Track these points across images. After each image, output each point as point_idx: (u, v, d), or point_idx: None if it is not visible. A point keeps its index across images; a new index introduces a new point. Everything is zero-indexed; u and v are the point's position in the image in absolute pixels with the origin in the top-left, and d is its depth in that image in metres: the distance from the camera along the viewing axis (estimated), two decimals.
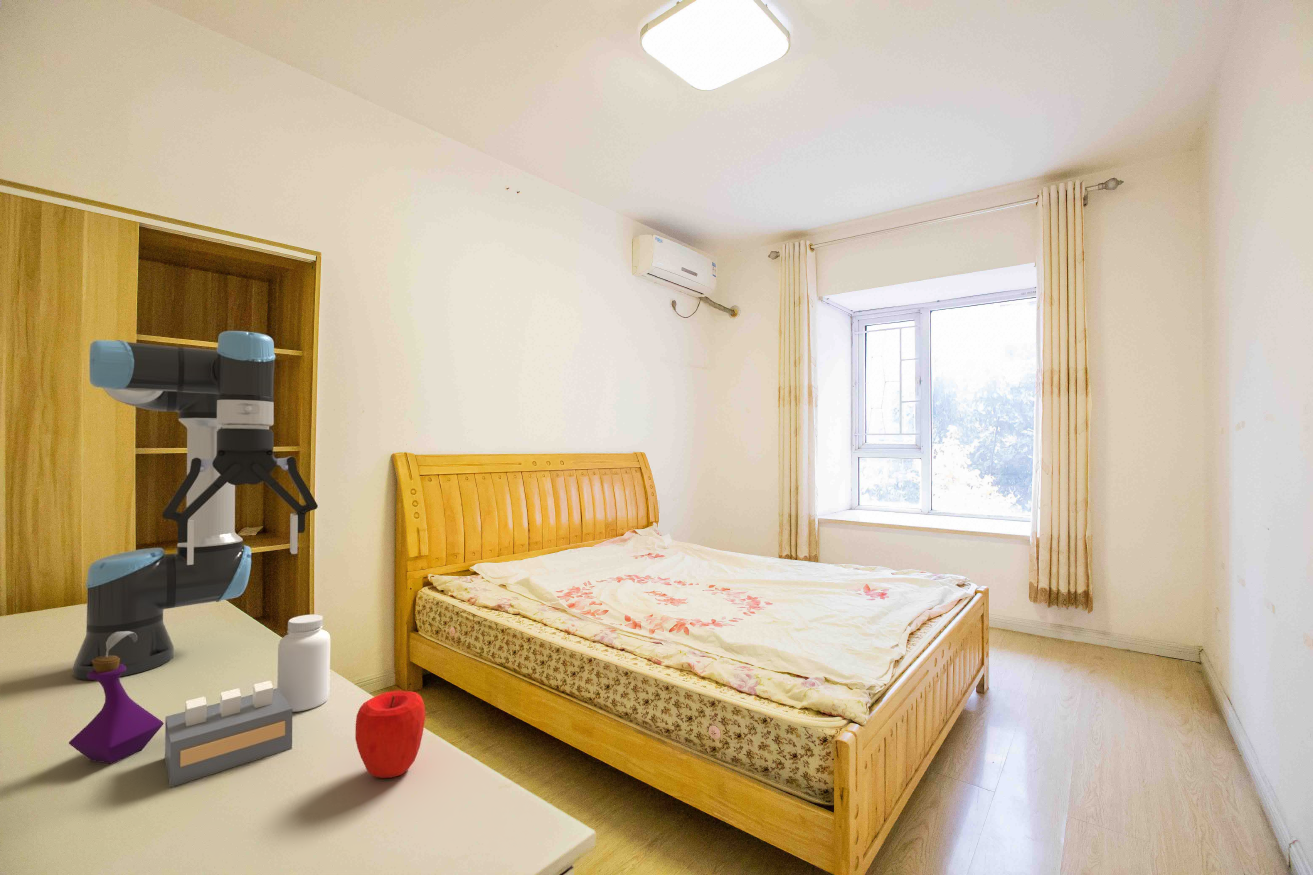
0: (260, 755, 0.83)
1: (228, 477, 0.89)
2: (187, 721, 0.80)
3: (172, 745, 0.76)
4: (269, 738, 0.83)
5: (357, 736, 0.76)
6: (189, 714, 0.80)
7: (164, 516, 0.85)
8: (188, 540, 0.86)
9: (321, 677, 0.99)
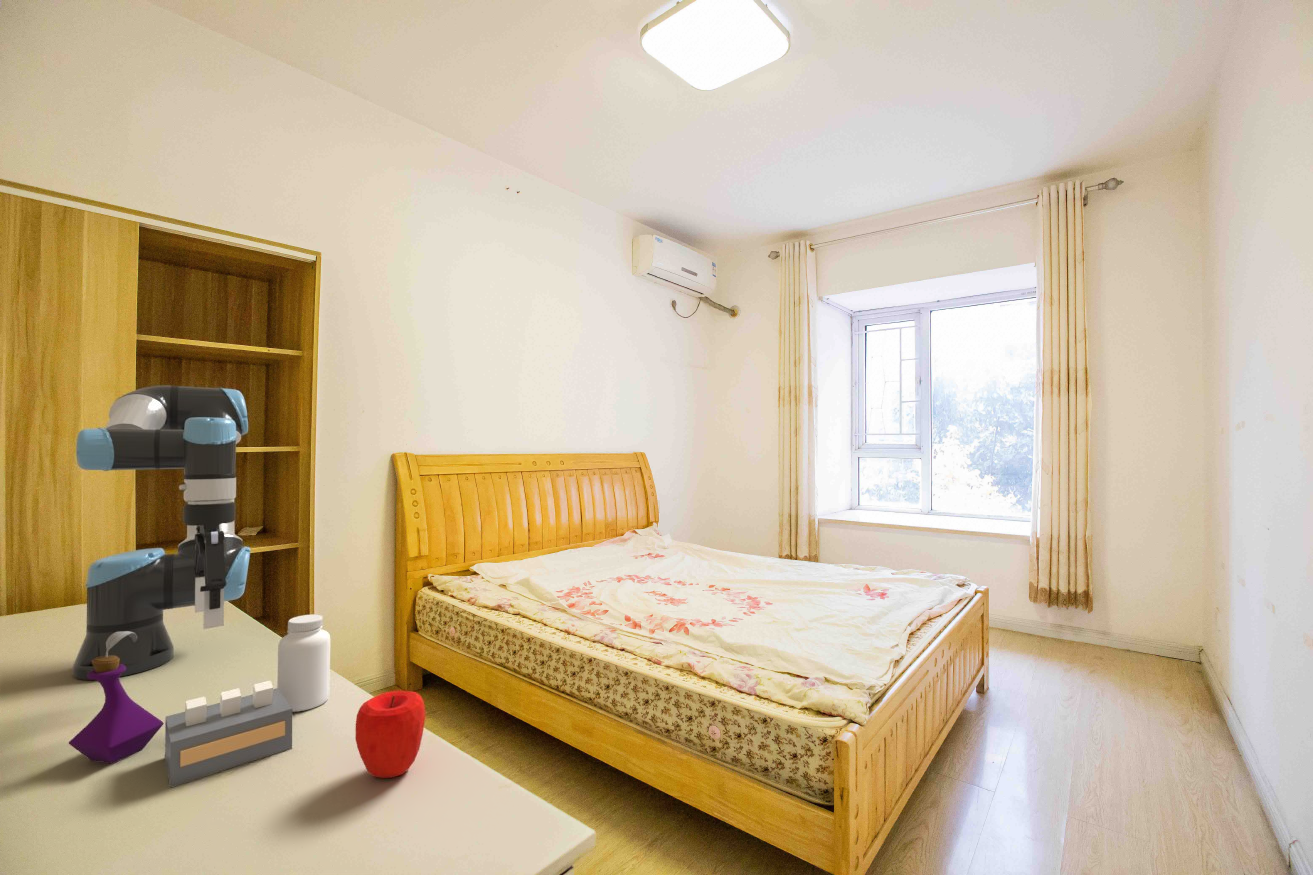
0: (260, 755, 0.83)
1: (195, 545, 1.03)
2: (187, 721, 0.80)
3: (172, 745, 0.76)
4: (269, 738, 0.83)
5: (357, 736, 0.76)
6: (189, 714, 0.80)
7: None
8: (195, 592, 1.07)
9: (321, 677, 0.99)
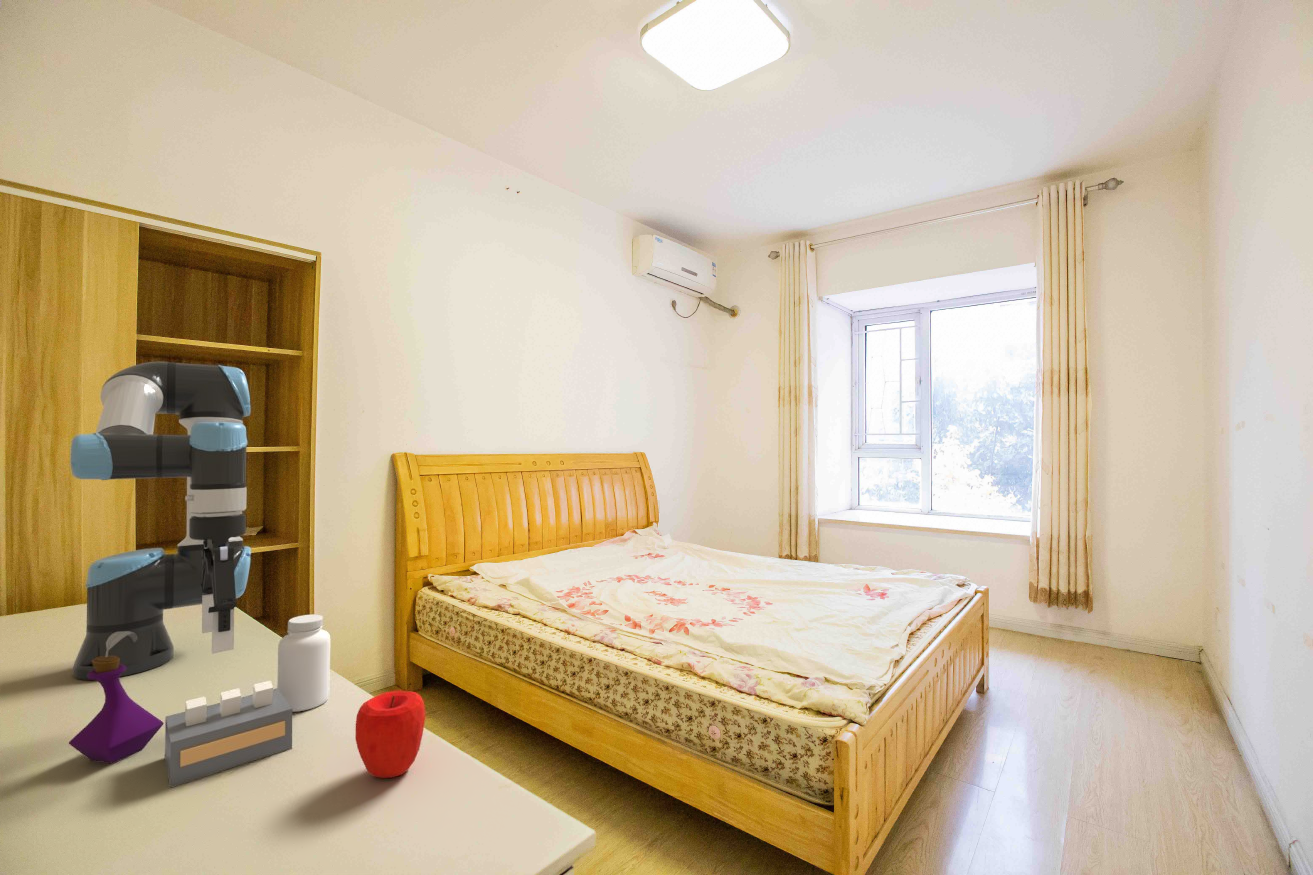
0: (260, 755, 0.83)
1: (203, 560, 0.95)
2: (187, 721, 0.80)
3: (172, 745, 0.76)
4: (269, 738, 0.83)
5: (357, 736, 0.76)
6: (189, 714, 0.80)
7: (201, 585, 1.01)
8: (202, 611, 0.99)
9: (321, 677, 0.99)
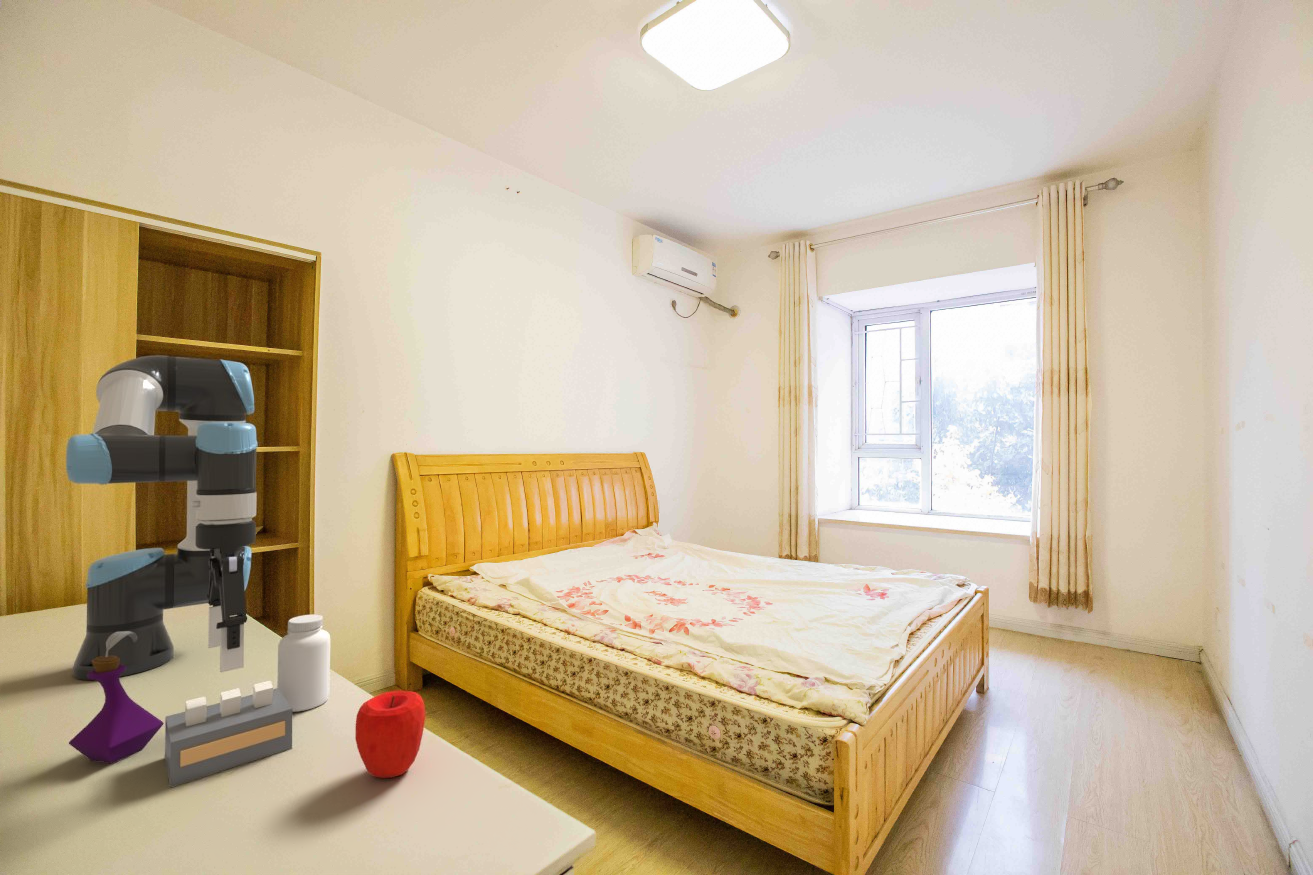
0: (260, 755, 0.83)
1: (210, 571, 0.89)
2: (187, 721, 0.80)
3: (172, 745, 0.76)
4: (269, 738, 0.83)
5: (357, 736, 0.76)
6: (189, 714, 0.80)
7: None
8: None
9: (321, 677, 0.99)
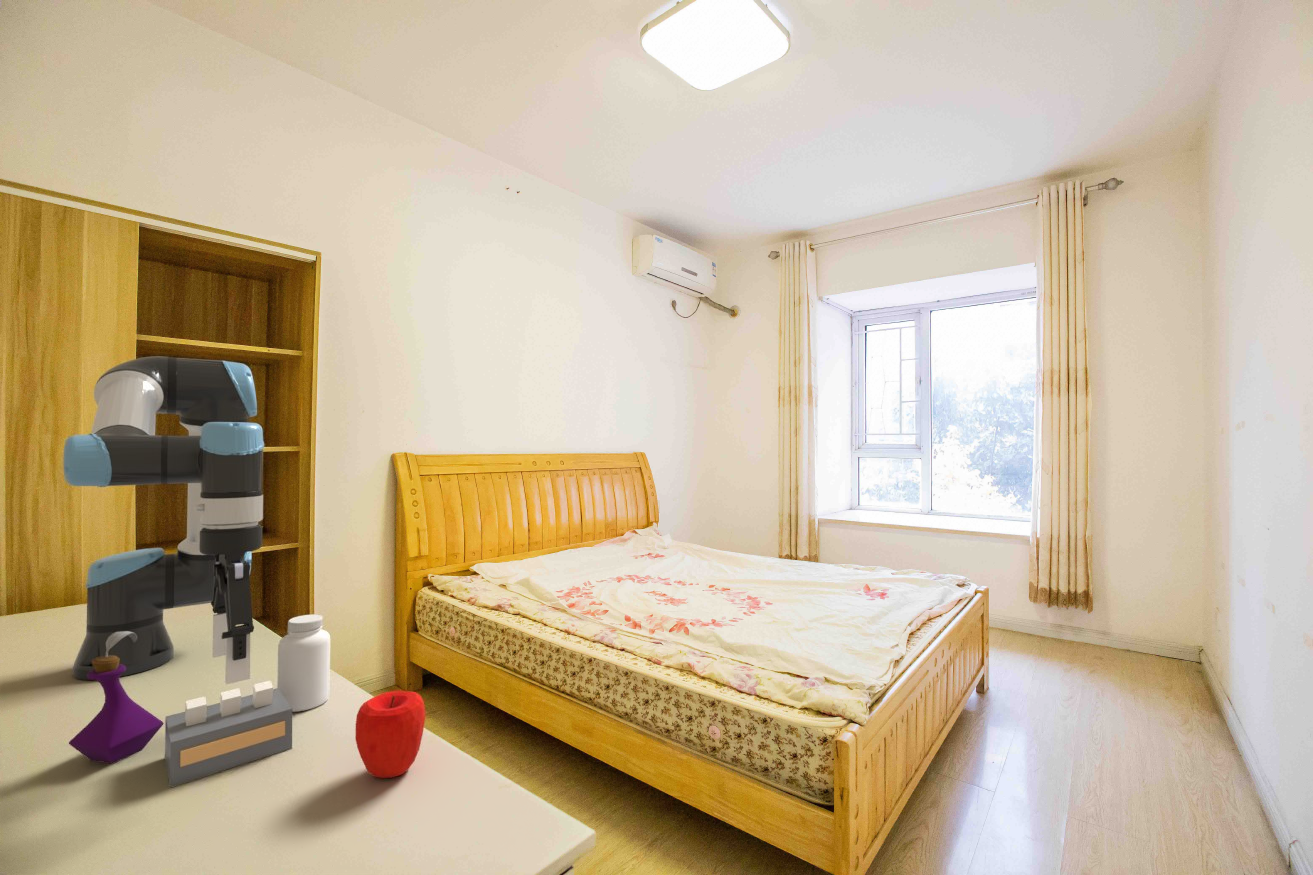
0: (260, 755, 0.83)
1: (214, 577, 0.85)
2: (187, 721, 0.80)
3: (172, 745, 0.76)
4: (269, 738, 0.83)
5: (357, 736, 0.76)
6: (189, 714, 0.80)
7: None
8: (213, 632, 0.88)
9: (321, 677, 0.99)
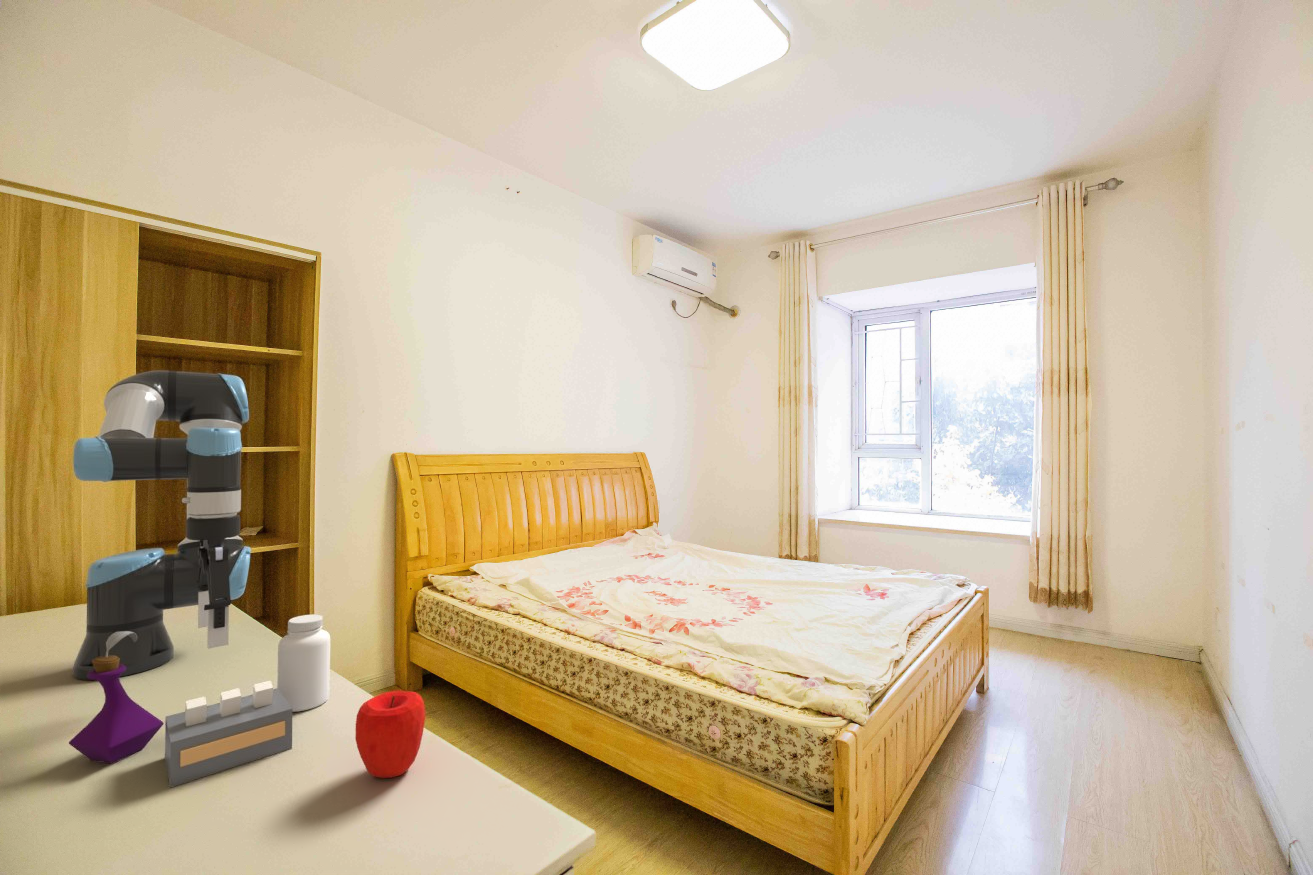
0: (260, 755, 0.83)
1: (199, 559, 1.00)
2: (187, 721, 0.80)
3: (172, 745, 0.76)
4: (269, 738, 0.83)
5: (357, 736, 0.76)
6: (189, 714, 0.80)
7: None
8: (198, 606, 1.03)
9: (321, 677, 0.99)
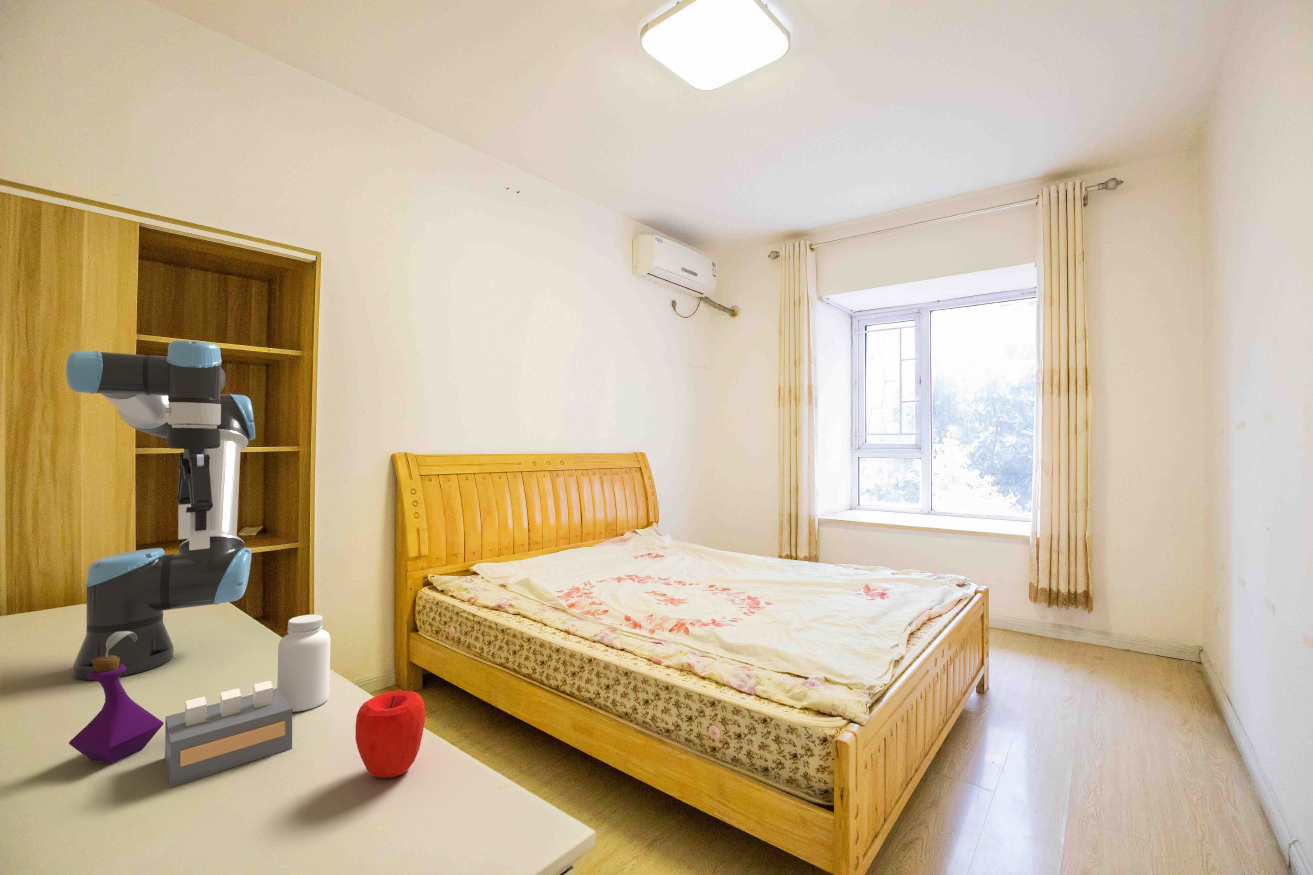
0: (260, 755, 0.83)
1: (179, 470, 1.03)
2: (187, 721, 0.80)
3: (172, 745, 0.76)
4: (269, 738, 0.83)
5: (357, 736, 0.76)
6: (189, 714, 0.80)
7: (177, 497, 1.09)
8: (178, 519, 1.07)
9: (321, 677, 0.99)
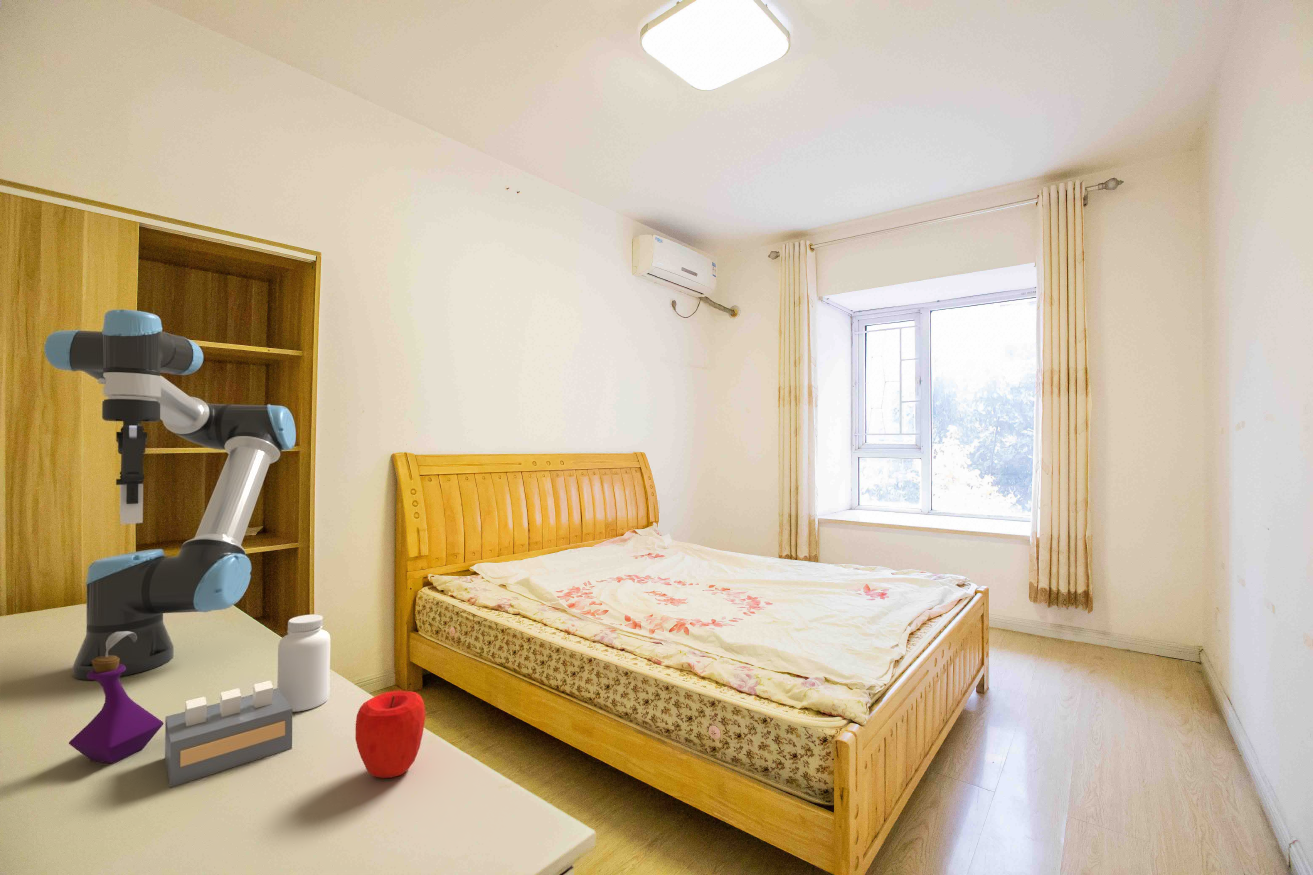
0: (260, 755, 0.83)
1: None
2: (187, 721, 0.80)
3: (172, 745, 0.76)
4: (269, 738, 0.83)
5: (357, 736, 0.76)
6: (189, 714, 0.80)
7: (120, 474, 1.06)
8: None
9: (321, 677, 0.99)
